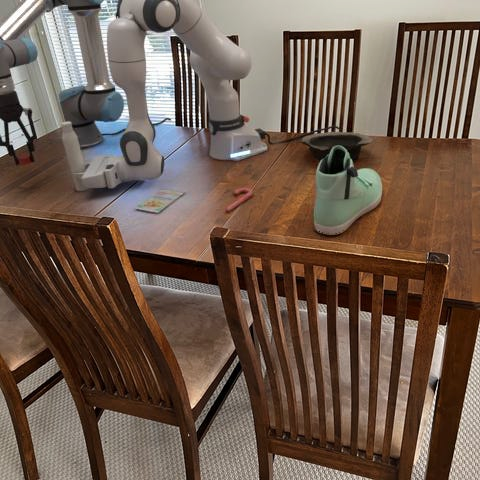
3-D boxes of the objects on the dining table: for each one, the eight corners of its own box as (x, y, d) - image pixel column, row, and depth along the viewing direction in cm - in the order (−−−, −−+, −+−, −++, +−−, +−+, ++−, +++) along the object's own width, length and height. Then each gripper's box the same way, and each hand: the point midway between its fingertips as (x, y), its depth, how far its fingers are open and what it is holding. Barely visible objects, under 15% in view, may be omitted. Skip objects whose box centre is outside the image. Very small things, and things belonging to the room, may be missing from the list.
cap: (34, 161, 161) (33, 155, 159) (23, 165, 158) (21, 159, 157) (27, 159, 163) (25, 153, 162) (15, 163, 160) (13, 157, 159)
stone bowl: (329, 177, 157) (328, 150, 153) (288, 159, 177) (286, 135, 173) (387, 158, 166) (388, 132, 161) (342, 144, 186) (341, 120, 182)
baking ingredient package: (134, 207, 147) (161, 188, 159) (134, 208, 148) (161, 189, 159) (157, 212, 144) (184, 192, 155) (158, 213, 144) (184, 193, 155)
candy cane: (212, 209, 144) (212, 204, 144) (241, 189, 154) (240, 185, 154) (228, 213, 141) (228, 209, 140) (256, 193, 151) (256, 189, 151)
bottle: (85, 191, 162) (68, 125, 150) (73, 190, 163) (55, 125, 151) (92, 185, 166) (76, 120, 154) (80, 184, 167) (63, 120, 155)
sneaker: (389, 187, 148) (396, 123, 138) (356, 242, 123) (361, 168, 112) (346, 181, 154) (350, 119, 144) (306, 232, 129) (307, 161, 118)
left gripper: (-28, 99, 143) (-3, 172, 155) (33, 89, 148) (53, 160, 160) (-28, 94, 148) (-3, 164, 160) (31, 85, 154) (51, 153, 166)
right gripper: (120, 149, 168) (82, 151, 169) (108, 172, 151) (64, 175, 151) (124, 165, 172) (86, 168, 172) (112, 190, 154) (69, 193, 155)
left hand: (25, 162), depth 160 cm, fingers closed on cap, 4 cm apart
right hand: (75, 171), depth 162 cm, fingers closed on bottle, 5 cm apart
